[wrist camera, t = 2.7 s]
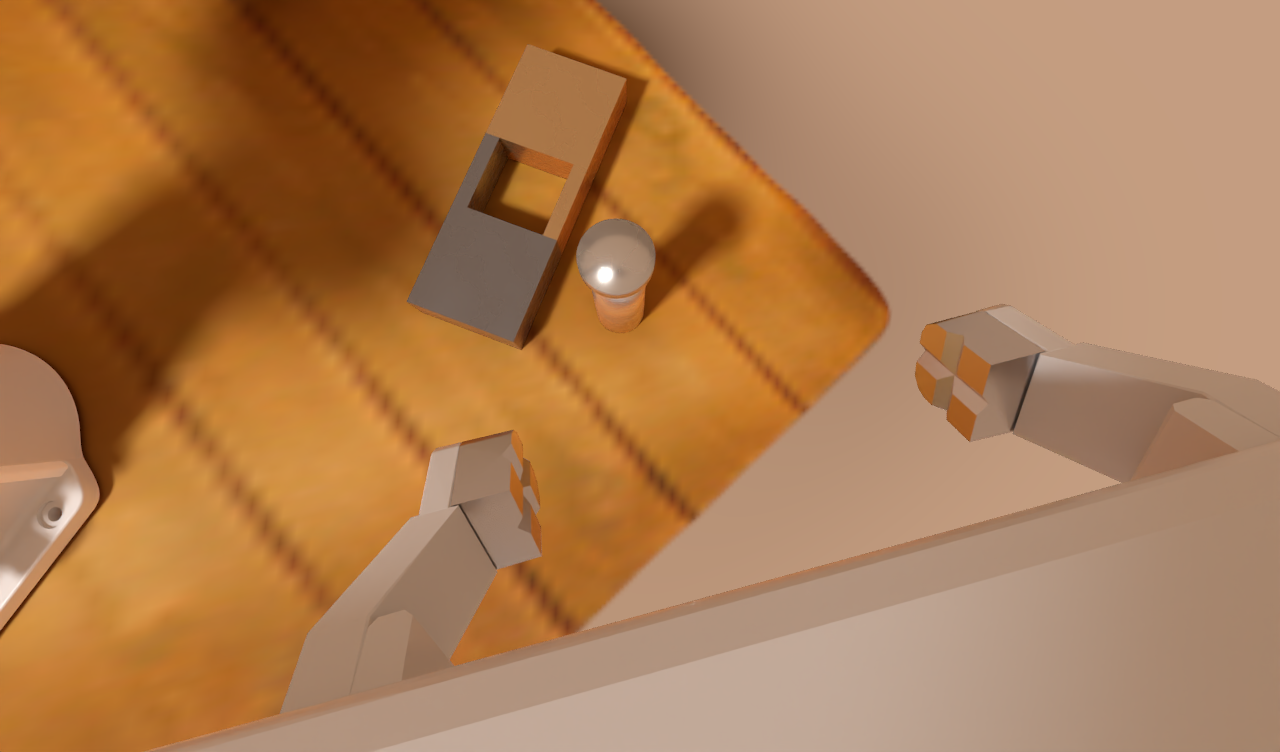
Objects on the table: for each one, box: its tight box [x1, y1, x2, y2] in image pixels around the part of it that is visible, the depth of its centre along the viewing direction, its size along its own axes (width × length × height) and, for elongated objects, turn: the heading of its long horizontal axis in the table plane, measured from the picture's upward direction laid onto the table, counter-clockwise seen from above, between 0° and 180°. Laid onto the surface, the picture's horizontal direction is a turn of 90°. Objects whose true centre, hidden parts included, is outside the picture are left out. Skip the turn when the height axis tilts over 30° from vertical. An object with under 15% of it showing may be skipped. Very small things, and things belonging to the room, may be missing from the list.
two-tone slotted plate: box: [407, 44, 627, 350], centre depth 36 cm, size 20×7×2 cm, turn 159°
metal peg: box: [576, 219, 655, 333], centre depth 32 cm, size 4×4×10 cm
